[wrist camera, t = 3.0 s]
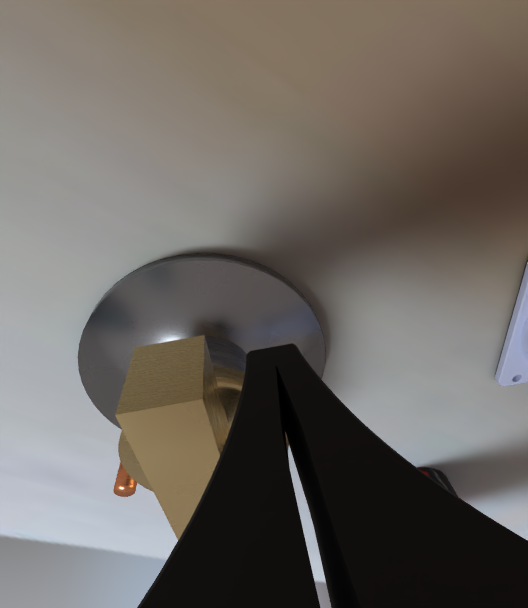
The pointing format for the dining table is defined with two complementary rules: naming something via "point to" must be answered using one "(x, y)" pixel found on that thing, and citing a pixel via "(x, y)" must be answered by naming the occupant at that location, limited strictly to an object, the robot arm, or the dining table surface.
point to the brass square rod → (176, 422)
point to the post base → (192, 322)
